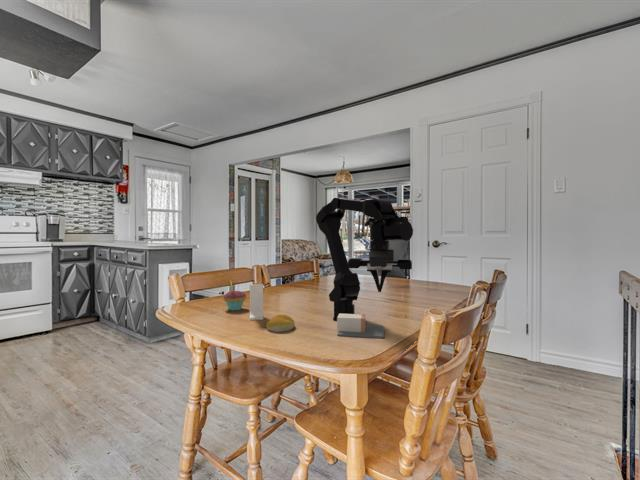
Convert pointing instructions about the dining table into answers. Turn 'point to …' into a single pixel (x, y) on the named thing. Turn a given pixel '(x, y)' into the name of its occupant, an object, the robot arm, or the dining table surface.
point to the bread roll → (280, 323)
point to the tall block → (351, 322)
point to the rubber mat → (366, 332)
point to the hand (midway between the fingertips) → (379, 291)
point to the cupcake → (234, 299)
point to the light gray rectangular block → (256, 302)
